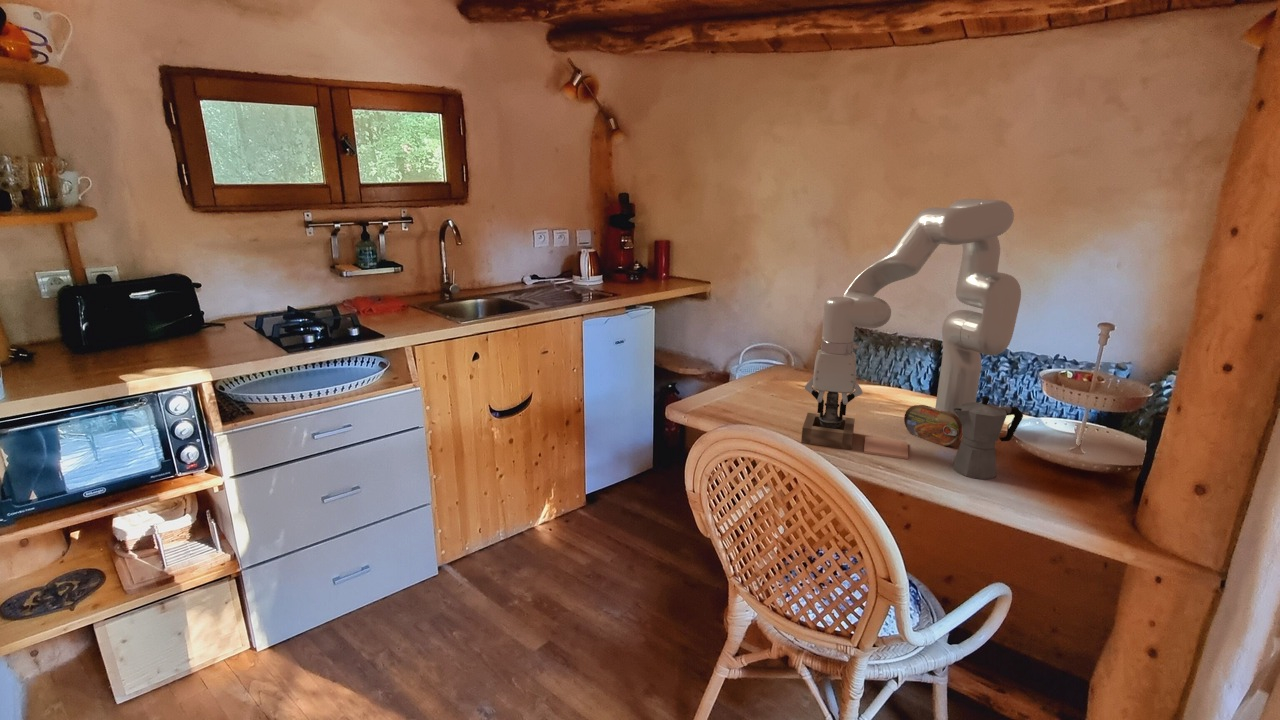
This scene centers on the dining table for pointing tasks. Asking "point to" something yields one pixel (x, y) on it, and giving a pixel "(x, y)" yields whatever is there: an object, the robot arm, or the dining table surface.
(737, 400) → the dining table surface
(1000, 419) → the coffeepot
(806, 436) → the socket block
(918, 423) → the tin
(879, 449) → the terracotta tile
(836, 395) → the salt shaker
